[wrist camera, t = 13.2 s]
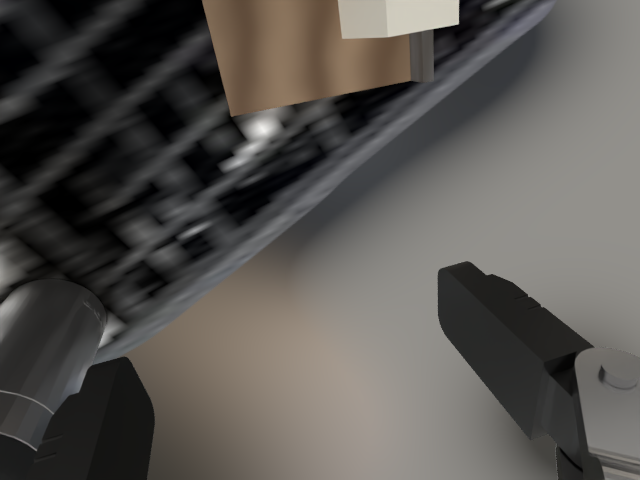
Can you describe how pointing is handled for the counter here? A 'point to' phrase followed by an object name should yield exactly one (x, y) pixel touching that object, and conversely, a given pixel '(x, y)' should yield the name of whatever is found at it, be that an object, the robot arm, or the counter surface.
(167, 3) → the counter surface
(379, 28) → the carton
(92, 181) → the counter surface
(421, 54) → the shelf plank
